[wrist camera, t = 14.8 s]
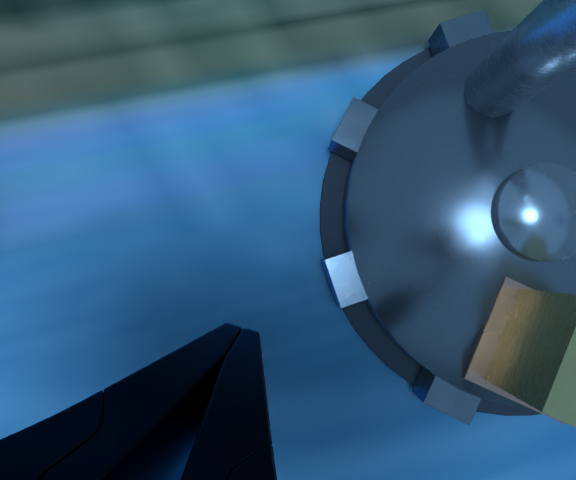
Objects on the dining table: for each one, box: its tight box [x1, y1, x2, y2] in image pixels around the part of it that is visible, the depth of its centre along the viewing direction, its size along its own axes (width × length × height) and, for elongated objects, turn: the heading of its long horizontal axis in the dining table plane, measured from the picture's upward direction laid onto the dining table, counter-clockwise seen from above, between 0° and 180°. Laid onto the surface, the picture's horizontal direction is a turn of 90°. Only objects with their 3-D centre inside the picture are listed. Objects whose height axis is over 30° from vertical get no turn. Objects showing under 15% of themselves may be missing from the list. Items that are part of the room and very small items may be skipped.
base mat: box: [320, 48, 541, 415], centre depth 21 cm, size 22×22×1 cm
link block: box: [485, 288, 576, 428], centre depth 16 cm, size 5×4×4 cm
